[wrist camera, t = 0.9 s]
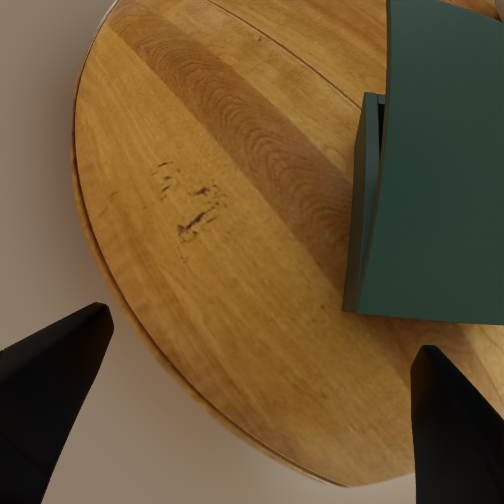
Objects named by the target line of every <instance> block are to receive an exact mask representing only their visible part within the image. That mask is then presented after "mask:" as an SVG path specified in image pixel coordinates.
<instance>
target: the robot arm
mask: <svg viewBox="0 0 504 504" xmlns="http://www.w3.org/2000/svg"><path fill="white" fill-rule="evenodd" d="M113 331H114V323H113V320H112V317H111V313H110V310H109V307H108V306H107V305H106V304H103V303H98V302H94V303H92V304H90V305H88V306H86V307H84V308H82V309H80V310H78V311H76V312H75V313H72V314H71V315H69V316H67V317H65V318H63V319H61V320H59V321H57V322H55V323H53V324H51V325H49V326H47V327H46V328H43V329H42V330H39V331H37V332H36V333H34V334H32V335H30V336H28V337H26V338H24V339H22V340H20V341H19V342H17V343H15V344H13V345H11V346H9V347H7V348H5V349H4V351H3V350H2V351H0V504H41V502H42V500H43V497H44V494H45V492H46V489H47V486H48V484H49V481H50V478H51V476H52V473H53V471H54V468H55V466H56V463H57V461H58V459H59V456H60V454H61V451H62V449H63V447H64V445H65V442H66V440H67V438H68V435H69V433H70V431H71V429H72V426H73V424H74V422H75V420H76V418H77V415H78V413H79V411H80V409H81V407H82V404H83V403H84V400H85V398H86V396H87V394H88V392H89V390H90V388H91V386H92V384H93V382H94V380H95V378H96V375H97V373H98V371H99V368H100V366H101V363H102V360H103V358H104V355H105V352H106V350H107V347H108V345H109V342H110V340H111V337H112V335H113ZM410 375H411V422H412V433H413V444H414V458H415V475H416V476H415V477H416V504H504V420H503V419H502V417H501V416H500V415H499V414H498V413H497V412H496V410H495V409H494V408H493V407H492V406H491V405H490V404H489V402H488V401H487V400H486V399H485V398H484V397H483V396H482V395H481V394H480V392H479V391H478V390H477V389H476V388H475V387H474V386H473V385H472V384H471V382H470V381H469V380H468V379H467V378H466V377H465V376H464V375H463V374H462V373H461V372H460V371H459V369H458V368H457V367H456V366H455V365H454V364H453V363H452V362H451V361H450V360H449V359H448V358H447V357H446V356H445V355H444V354H443V353H442V352H441V350H440V349H439V348H438V347H436V346H434V345H423V346H422V347H421V348H420V350H419V352H418V354H417V356H416V358H415V360H414V362H413V364H412V366H411V371H410Z"/></svg>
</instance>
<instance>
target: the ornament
mask: <svg viewBox="0 0 504 504" xmlns="http://www.w3.org/2000/svg"><path fill="white" fill-rule="evenodd" d="M495 5H496V9H497V12H498V14H499V17H500V18H501V20H502V22H503V23H504V0H495Z"/></svg>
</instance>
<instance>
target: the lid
mask: <svg viewBox="0 0 504 504" xmlns="http://www.w3.org/2000/svg"><path fill="white" fill-rule="evenodd" d="M386 13H387V70H386V94H385V111H384V125H383V136H382V147H381V157H380V166H379V174H378V182H377V190H376V197H375V204H374V210H373V217H372V223H371V229H370V235H369V241H368V246H367V252H366V257H365V262H364V267H363V272H362V277H361V282H360V287H359V291H358V296H357V300H356V313H357V314H366V315H376V316H386V317H396V318H407V319H419V320H431V321H443V322H457V323H472V324H490V325H504V23H503V22H500V21H498V20H495V19H493V18H490V17H488V16H485V15H482V14H480V13H477V12H474V11H471V10H468V9H465V8H462V7H459V6H455V5H452V4H449V3H445V2H442V1H438V0H386Z"/></svg>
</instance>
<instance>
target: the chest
mask: <svg viewBox="0 0 504 504" xmlns="http://www.w3.org/2000/svg"><path fill="white" fill-rule="evenodd" d="M384 111H385V95H382V94H376V93H368V92H365V93H364V98H363V104H362V109H361V115H360V120H359V126H358V131H357V136H356V142H355V150H354V179H353V199H352V214H351V228H350V240H349V251H348V262H347V271H346V280H345V289H344V297H343V305H342V311H346V312H355V313H356V300H357V296H358V291H359V287H360V282H361V277H362V272H363V267H364V262H365V257H366V252H367V246H368V241H369V235H370V229H371V223H372V217H373V210H374V204H375V197H376V190H377V182H378V174H379V166H380V157H381V147H382V136H383V125H384Z"/></svg>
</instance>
